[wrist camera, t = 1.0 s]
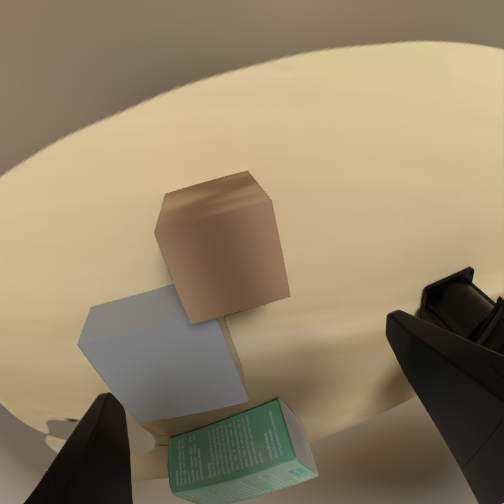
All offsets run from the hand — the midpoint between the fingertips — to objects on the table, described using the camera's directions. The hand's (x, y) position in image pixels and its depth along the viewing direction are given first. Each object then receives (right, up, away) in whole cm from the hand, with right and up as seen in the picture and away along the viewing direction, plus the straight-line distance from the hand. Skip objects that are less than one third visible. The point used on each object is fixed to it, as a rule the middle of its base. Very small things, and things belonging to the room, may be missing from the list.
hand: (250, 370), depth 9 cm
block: (-2, +5, +10) cm, 12 cm away
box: (-2, -16, +21) cm, 27 cm away
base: (-6, -3, +14) cm, 15 cm away
